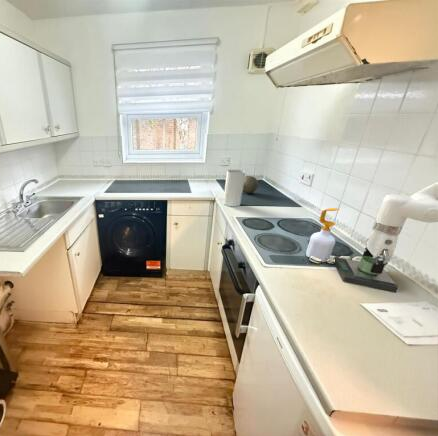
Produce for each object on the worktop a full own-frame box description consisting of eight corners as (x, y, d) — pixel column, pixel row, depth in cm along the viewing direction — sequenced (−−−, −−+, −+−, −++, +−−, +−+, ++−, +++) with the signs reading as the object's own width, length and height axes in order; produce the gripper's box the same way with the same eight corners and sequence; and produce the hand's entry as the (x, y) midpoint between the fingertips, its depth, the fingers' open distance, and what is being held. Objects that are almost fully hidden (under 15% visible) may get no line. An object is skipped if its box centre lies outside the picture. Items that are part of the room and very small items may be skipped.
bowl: (375, 267, 97) (379, 258, 96) (381, 276, 92) (386, 266, 90) (355, 264, 100) (359, 254, 98) (360, 272, 94) (364, 262, 93)
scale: (378, 269, 101) (380, 263, 100) (395, 292, 88) (399, 286, 87) (333, 261, 107) (335, 255, 106) (343, 281, 94) (345, 275, 93)
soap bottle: (323, 264, 105) (341, 213, 95) (301, 255, 112) (316, 207, 102) (332, 258, 109) (350, 209, 100) (311, 250, 116) (325, 203, 107)
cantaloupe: (238, 190, 213) (241, 174, 207) (255, 192, 209) (258, 175, 203) (238, 195, 200) (241, 177, 195) (257, 196, 196) (260, 178, 190)
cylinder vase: (243, 204, 180) (248, 171, 170) (235, 208, 172) (240, 173, 162) (227, 200, 188) (232, 168, 178) (219, 204, 180) (223, 171, 170)
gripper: (412, 239, 80) (392, 280, 86) (389, 220, 94) (374, 257, 101) (383, 235, 83) (366, 275, 89) (365, 217, 97) (352, 253, 104)
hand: (370, 266), depth 95 cm, fingers open, 9 cm apart
